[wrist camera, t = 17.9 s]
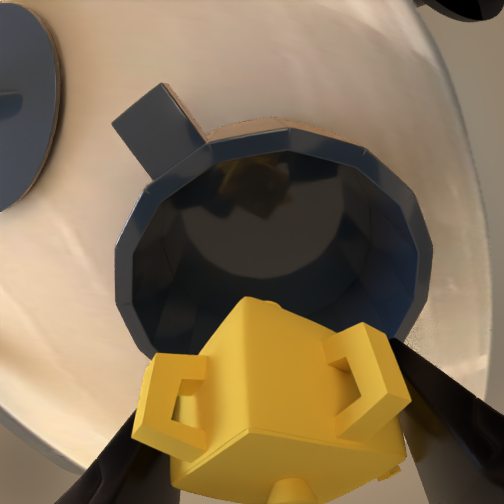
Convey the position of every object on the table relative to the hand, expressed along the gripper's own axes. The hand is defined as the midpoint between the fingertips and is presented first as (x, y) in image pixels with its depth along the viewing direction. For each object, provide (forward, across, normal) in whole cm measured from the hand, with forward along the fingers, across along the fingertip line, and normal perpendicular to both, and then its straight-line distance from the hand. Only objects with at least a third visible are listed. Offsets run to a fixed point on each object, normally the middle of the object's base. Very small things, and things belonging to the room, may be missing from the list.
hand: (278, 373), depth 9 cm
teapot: (+1, -1, 0) cm, 1 cm away
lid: (+10, +16, -13) cm, 23 cm away
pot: (+11, 0, +1) cm, 11 cm away
